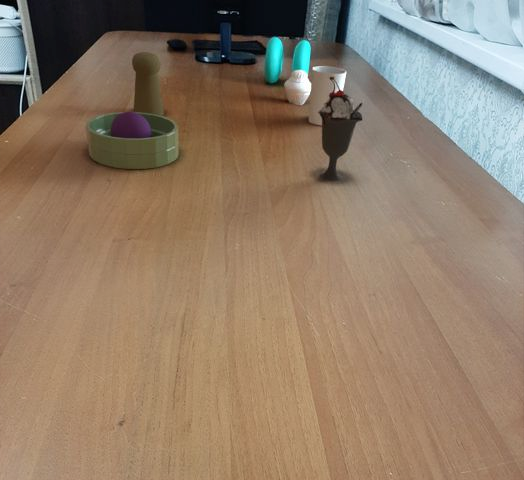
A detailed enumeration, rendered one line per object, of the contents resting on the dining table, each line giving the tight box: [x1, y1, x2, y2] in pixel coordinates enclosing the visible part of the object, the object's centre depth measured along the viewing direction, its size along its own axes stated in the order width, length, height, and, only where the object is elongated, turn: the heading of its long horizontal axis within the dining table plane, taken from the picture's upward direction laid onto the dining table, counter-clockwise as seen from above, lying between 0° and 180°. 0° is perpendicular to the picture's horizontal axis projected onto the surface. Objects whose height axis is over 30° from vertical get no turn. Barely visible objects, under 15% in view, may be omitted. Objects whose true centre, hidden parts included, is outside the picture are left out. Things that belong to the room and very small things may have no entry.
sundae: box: [318, 77, 363, 182], centre depth 87 cm, size 7×7×15 cm
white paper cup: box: [308, 65, 347, 127], centre depth 112 cm, size 7×7×10 cm
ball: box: [111, 111, 152, 139], centre depth 91 cm, size 6×6×6 cm
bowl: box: [85, 111, 180, 170], centre depth 92 cm, size 14×14×5 cm
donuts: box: [264, 36, 312, 84], centre depth 137 cm, size 10×10×10 cm
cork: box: [131, 51, 165, 116], centre depth 108 cm, size 6×6×11 cm
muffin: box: [283, 69, 311, 106], centre depth 124 cm, size 6×6×7 cm
